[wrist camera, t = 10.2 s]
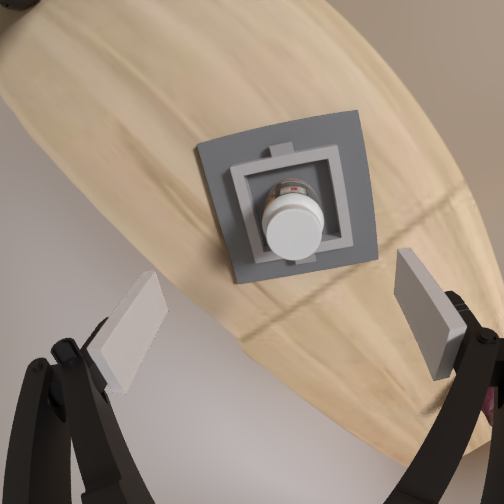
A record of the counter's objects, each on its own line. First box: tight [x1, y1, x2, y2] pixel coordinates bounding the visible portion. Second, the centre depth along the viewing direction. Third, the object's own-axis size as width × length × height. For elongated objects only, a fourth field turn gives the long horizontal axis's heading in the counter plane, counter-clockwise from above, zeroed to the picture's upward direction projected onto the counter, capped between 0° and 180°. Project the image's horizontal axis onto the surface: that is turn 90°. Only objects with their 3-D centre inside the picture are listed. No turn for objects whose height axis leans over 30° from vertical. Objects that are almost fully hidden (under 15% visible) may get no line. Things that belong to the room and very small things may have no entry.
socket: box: [197, 110, 378, 284], centre depth 34 cm, size 18×18×3 cm
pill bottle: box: [262, 179, 324, 260], centre depth 30 cm, size 6×6×10 cm
